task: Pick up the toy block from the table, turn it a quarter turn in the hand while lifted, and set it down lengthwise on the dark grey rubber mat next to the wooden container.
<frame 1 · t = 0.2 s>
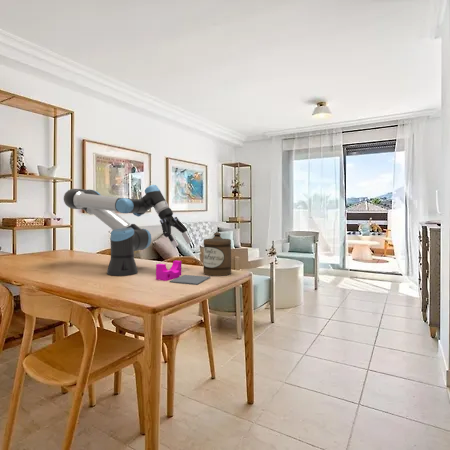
hand: (183, 244, 173), 15 cm above the table, tool tilted 35°, fingers open, 13 cm apart
wooden container: (217, 273, 174), on the table
toy block: (171, 278, 162), on the table
mat: (190, 280, 156), on the table
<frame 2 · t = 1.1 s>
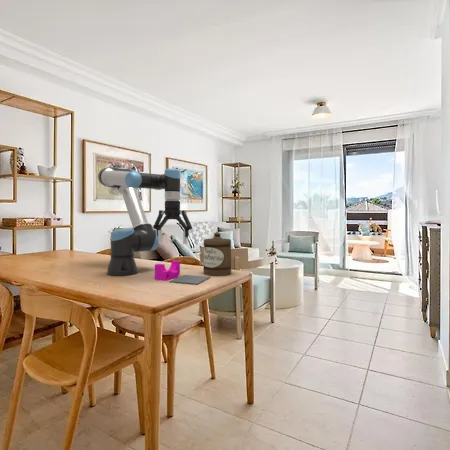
hand: (172, 243, 161), 17 cm above the table, tool pointing down, fingers open, 13 cm apart
nothing on the table moved.
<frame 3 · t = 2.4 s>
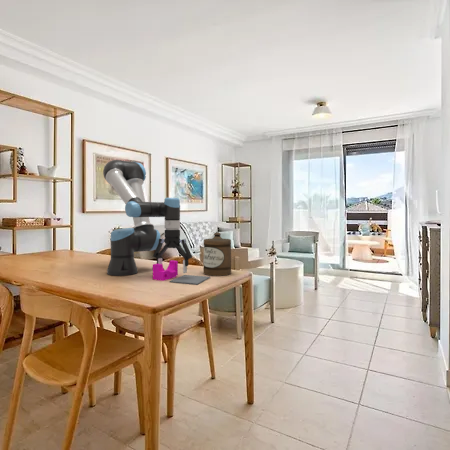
hand: (172, 272, 161), 3 cm above the table, tool pointing down, fingers open, 13 cm apart
toy block: (167, 278, 162), on the table
everything else where it was.
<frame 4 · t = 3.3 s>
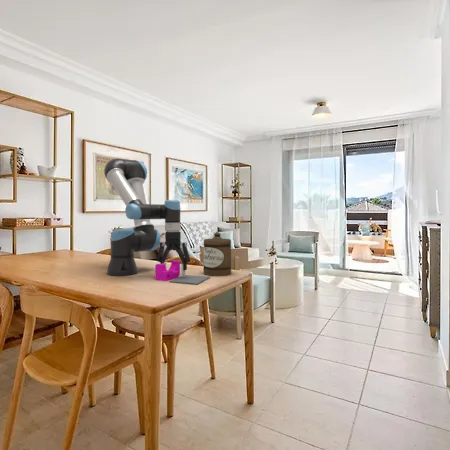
hand: (173, 276, 161), 1 cm above the table, tool pointing down, fingers open, 10 cm apart
toy block: (170, 278, 161), on the table
everything else where it was.
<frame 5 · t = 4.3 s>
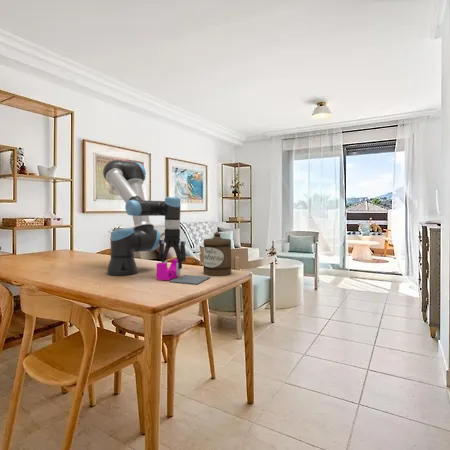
hand: (171, 274, 162), 1 cm above the table, tool pointing down, fingers closed on toy block, 7 cm apart
toy block: (170, 277, 161), on the table, touching gripper
everything else where it was.
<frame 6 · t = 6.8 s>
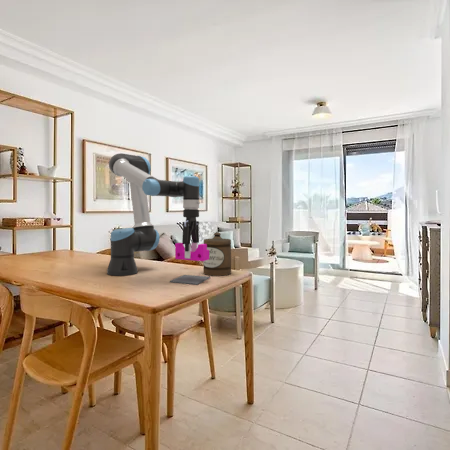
hand: (190, 257, 156), 11 cm above the table, tool pointing down, fingers closed on toy block, 7 cm apart
toy block: (192, 259, 155), point 10 cm above the table, touching gripper
everything else where it was.
when the fingers open (2 cm above the table, at t = 9.1 s): toy block stays where it is, resting on mat.
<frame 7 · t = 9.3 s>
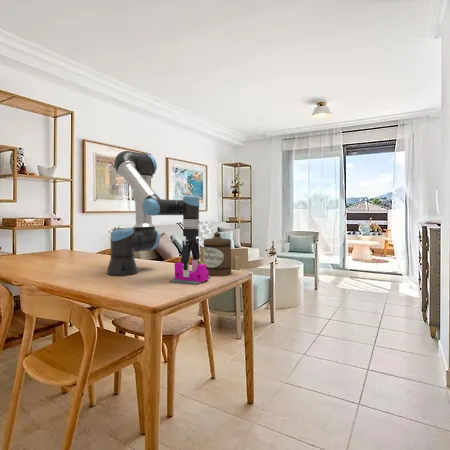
hand: (190, 274, 156), 3 cm above the table, tool pointing down, fingers open, 9 cm apart
toy block: (191, 279, 156), resting on mat
everything else where it was.
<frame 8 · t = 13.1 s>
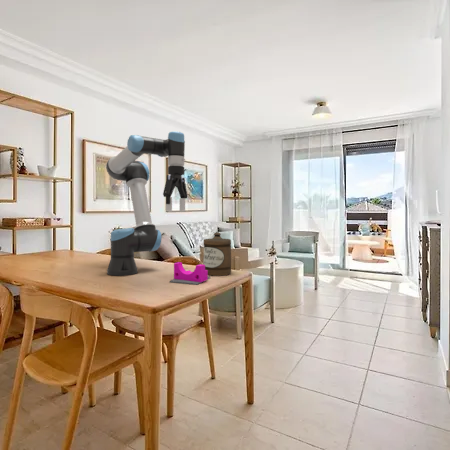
hand: (175, 211, 153), 33 cm above the table, tool pointing down, fingers open, 13 cm apart
at the end: toy block inside the target area on the mat (0.9 cm from its centre), point 0.4 cm above the mat's base; toy block tilted 0°; toy block touching mat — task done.
